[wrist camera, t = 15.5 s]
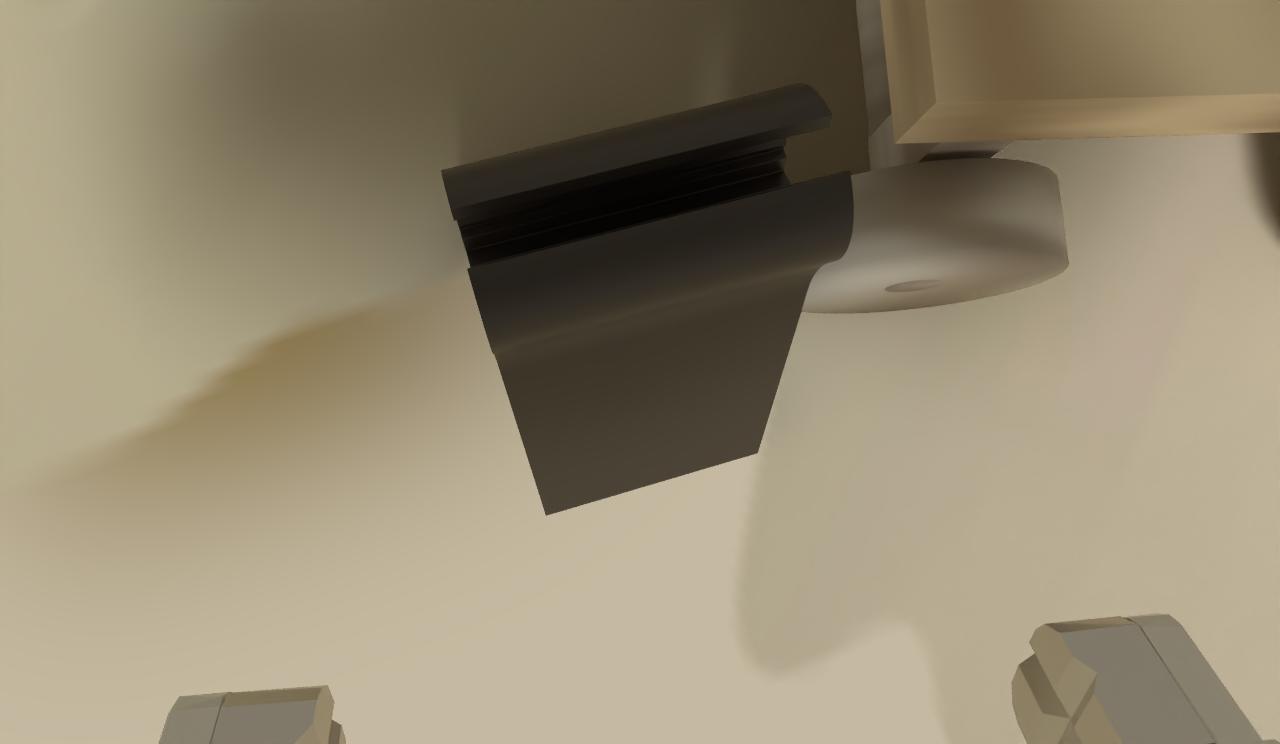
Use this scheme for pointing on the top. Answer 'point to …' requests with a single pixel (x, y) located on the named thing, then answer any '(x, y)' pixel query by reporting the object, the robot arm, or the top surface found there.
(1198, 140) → the top surface
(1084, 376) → the top surface
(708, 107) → the door stopper
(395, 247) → the top surface
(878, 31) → the wheeled trolley
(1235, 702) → the robot arm
